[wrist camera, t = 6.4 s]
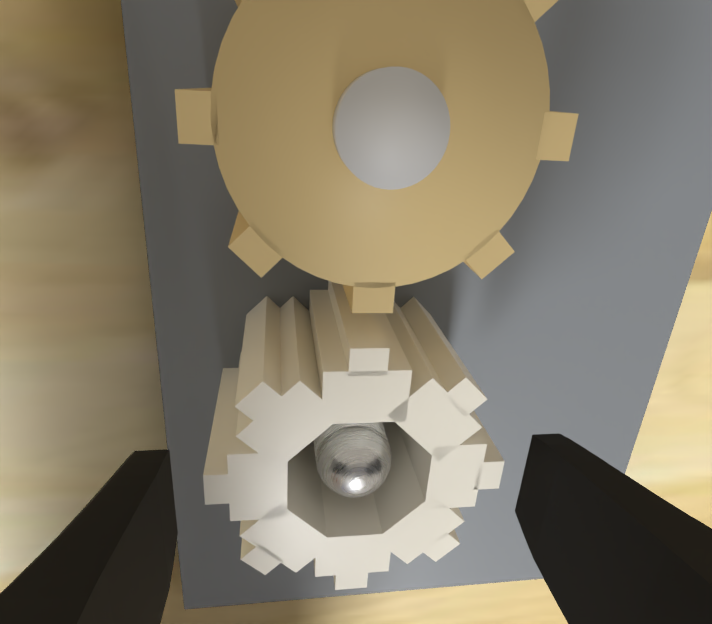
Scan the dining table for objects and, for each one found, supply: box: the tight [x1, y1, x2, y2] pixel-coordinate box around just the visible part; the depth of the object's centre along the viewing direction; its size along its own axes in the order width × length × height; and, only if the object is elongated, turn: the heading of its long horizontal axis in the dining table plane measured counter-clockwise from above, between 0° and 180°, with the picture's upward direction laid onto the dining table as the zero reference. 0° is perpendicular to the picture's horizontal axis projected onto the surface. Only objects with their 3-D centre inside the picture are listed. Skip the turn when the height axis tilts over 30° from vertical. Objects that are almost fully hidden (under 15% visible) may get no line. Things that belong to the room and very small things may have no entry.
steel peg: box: [313, 422, 392, 498], centre depth 12 cm, size 2×2×4 cm
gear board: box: [121, 0, 712, 609], centre depth 12 cm, size 20×14×6 cm
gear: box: [203, 281, 505, 590], centre depth 12 cm, size 6×6×4 cm
